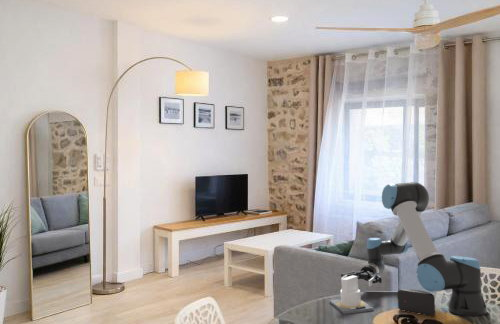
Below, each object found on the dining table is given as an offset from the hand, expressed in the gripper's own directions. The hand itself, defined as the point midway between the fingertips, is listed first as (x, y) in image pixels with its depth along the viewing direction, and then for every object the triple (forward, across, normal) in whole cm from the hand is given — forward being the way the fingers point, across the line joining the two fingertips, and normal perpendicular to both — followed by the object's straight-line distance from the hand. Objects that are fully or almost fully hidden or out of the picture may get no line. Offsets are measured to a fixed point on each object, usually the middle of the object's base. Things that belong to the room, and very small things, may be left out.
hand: (355, 282), depth 229 cm
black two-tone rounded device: (+6, -29, -10) cm, 31 cm away
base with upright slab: (+7, 0, -8) cm, 11 cm away
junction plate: (+8, 0, -10) cm, 12 cm away
